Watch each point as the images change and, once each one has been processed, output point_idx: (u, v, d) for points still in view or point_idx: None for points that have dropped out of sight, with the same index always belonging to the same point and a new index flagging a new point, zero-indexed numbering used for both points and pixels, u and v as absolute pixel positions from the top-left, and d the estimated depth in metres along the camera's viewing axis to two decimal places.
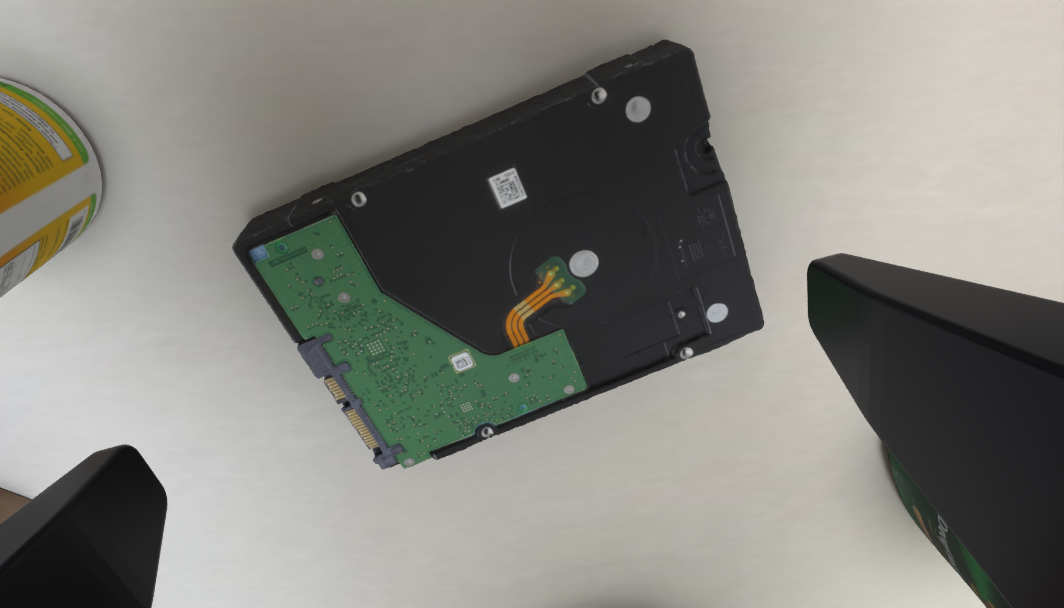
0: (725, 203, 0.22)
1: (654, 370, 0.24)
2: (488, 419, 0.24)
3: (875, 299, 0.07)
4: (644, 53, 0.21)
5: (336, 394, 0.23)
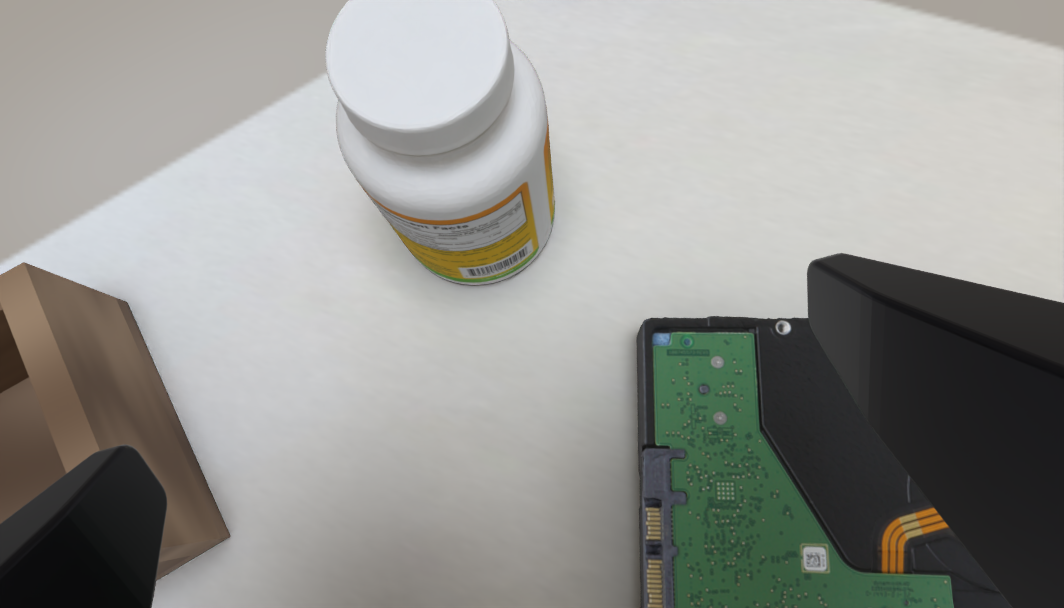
0: None
1: None
2: None
3: (875, 299, 0.07)
4: None
5: (650, 531, 0.19)
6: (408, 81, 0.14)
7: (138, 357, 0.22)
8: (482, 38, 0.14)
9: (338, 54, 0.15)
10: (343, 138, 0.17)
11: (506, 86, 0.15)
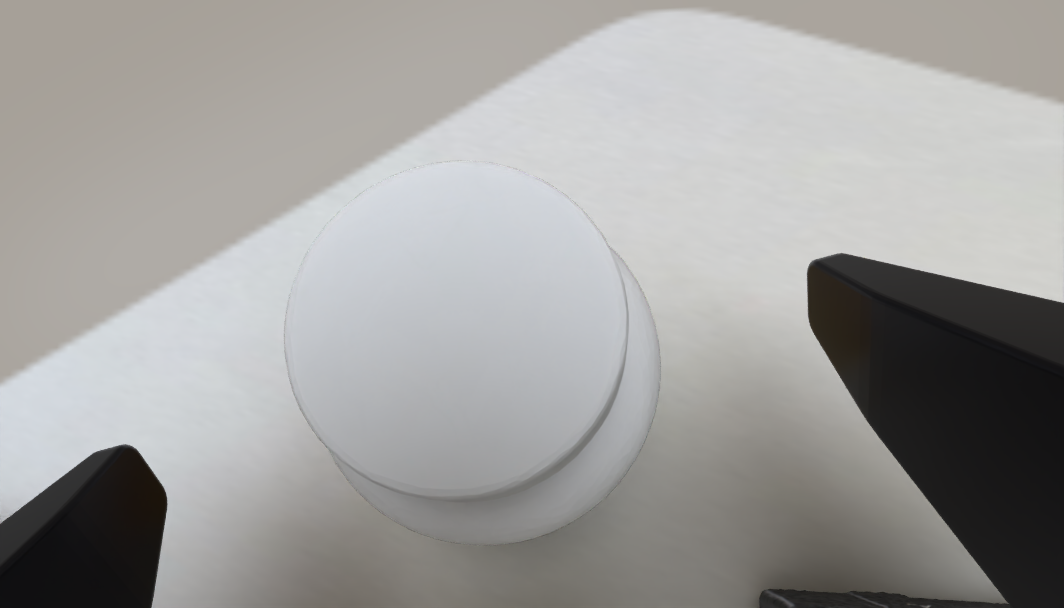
0: None
1: None
2: None
3: (875, 299, 0.07)
4: None
5: None
6: (438, 394, 0.07)
7: None
8: (579, 307, 0.08)
9: (307, 332, 0.08)
10: None
11: (619, 382, 0.08)
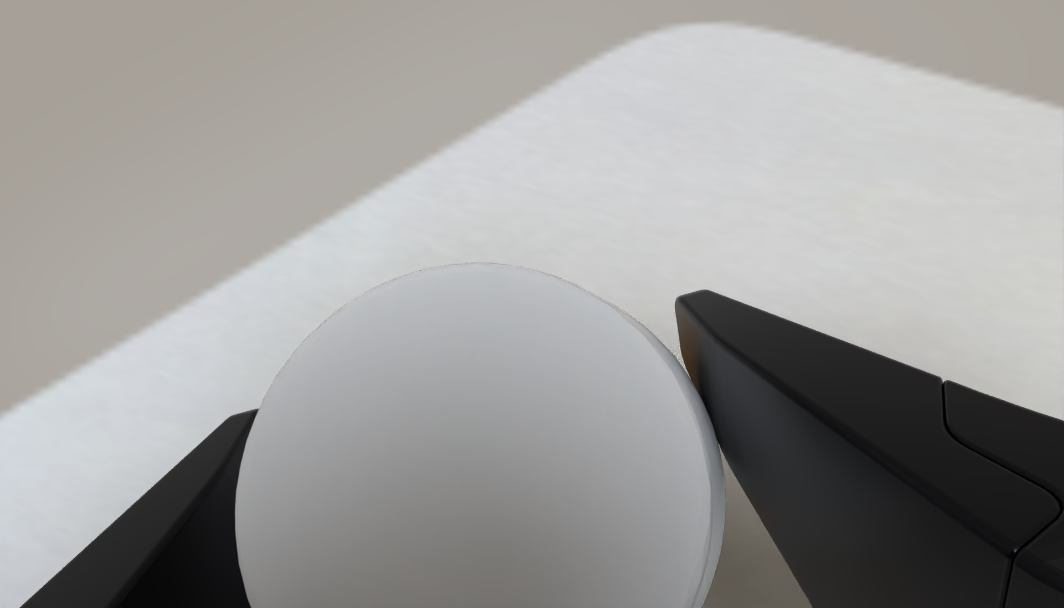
0: None
1: None
2: None
3: (716, 341, 0.07)
4: None
5: None
6: (448, 604, 0.05)
7: None
8: (645, 480, 0.05)
9: (267, 509, 0.06)
10: None
11: None
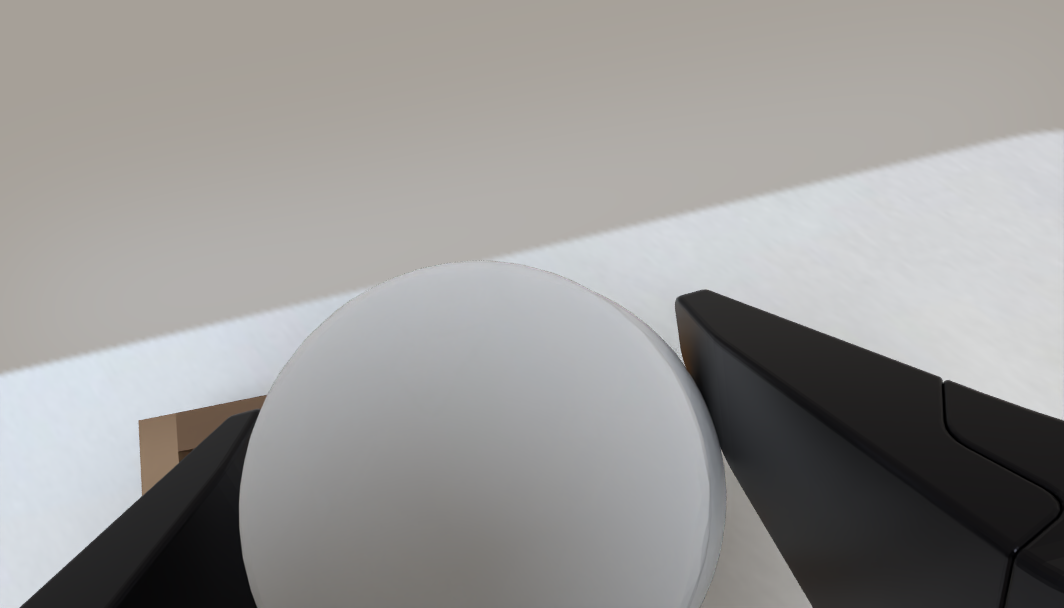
0: None
1: None
2: None
3: (716, 342, 0.07)
4: None
5: None
6: (449, 600, 0.05)
7: None
8: (643, 475, 0.06)
9: (270, 505, 0.06)
10: None
11: None
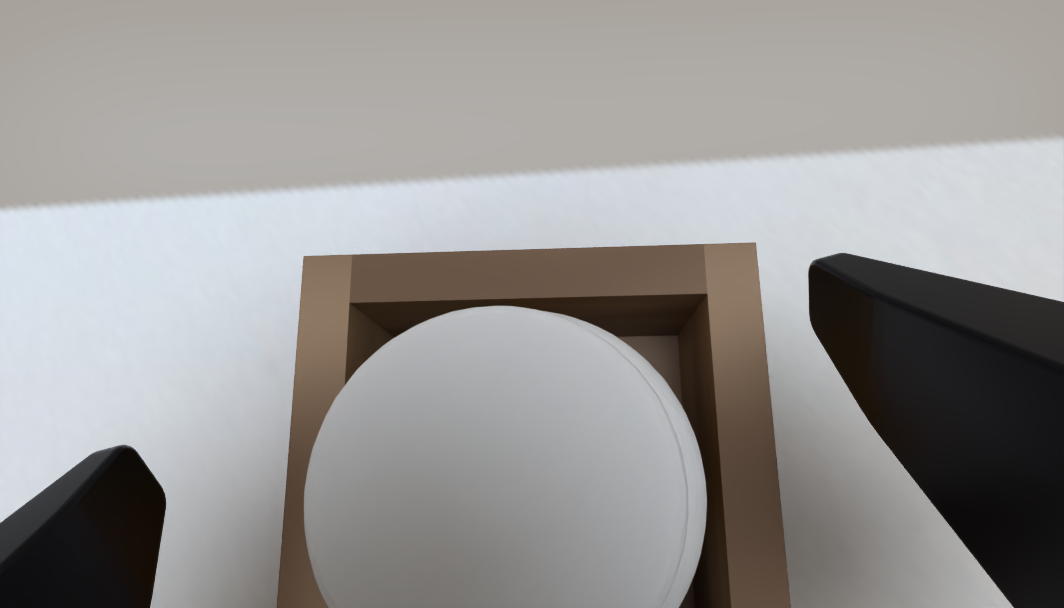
0: None
1: None
2: None
3: (877, 299, 0.07)
4: None
5: None
6: (477, 583, 0.07)
7: None
8: (634, 483, 0.07)
9: (330, 505, 0.07)
10: None
11: None
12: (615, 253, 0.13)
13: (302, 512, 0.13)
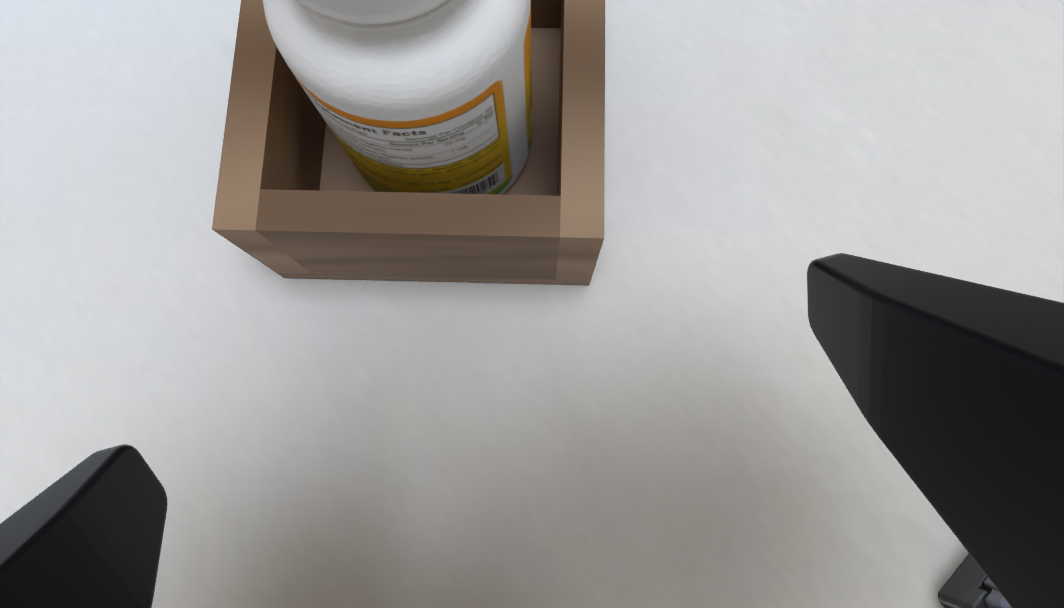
0: None
1: None
2: None
3: (875, 299, 0.07)
4: None
5: None
6: None
7: None
8: None
9: None
10: (269, 6, 0.13)
11: None
12: None
13: (246, 70, 0.17)
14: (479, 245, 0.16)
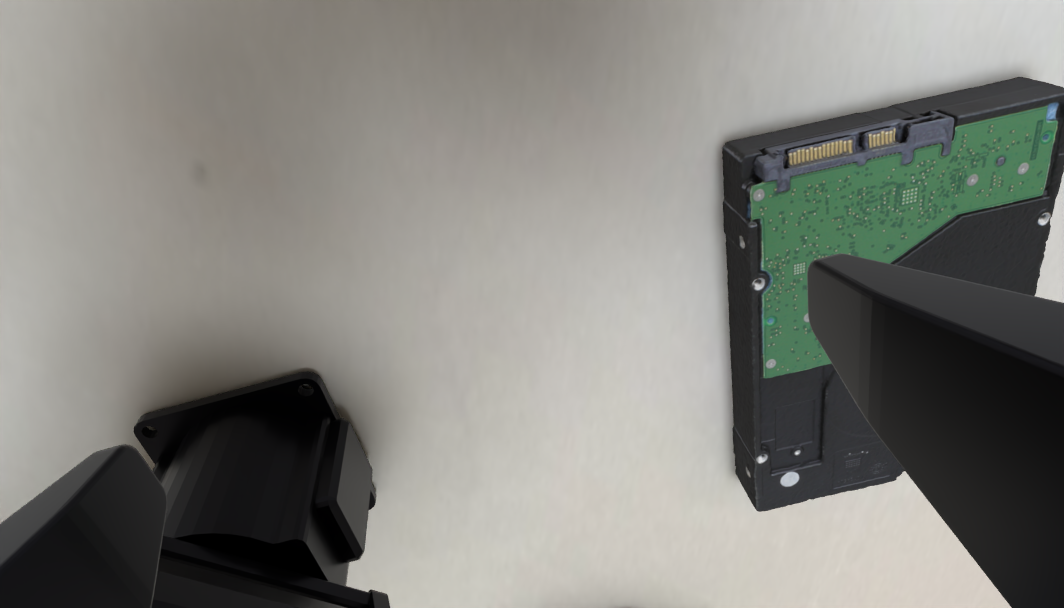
0: (880, 480, 0.27)
1: (758, 434, 0.25)
2: (774, 286, 0.22)
3: (875, 299, 0.07)
4: None
5: (875, 136, 0.20)
6: None
7: None
8: None
9: None
10: None
11: None
12: None
13: None
14: None
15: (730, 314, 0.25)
